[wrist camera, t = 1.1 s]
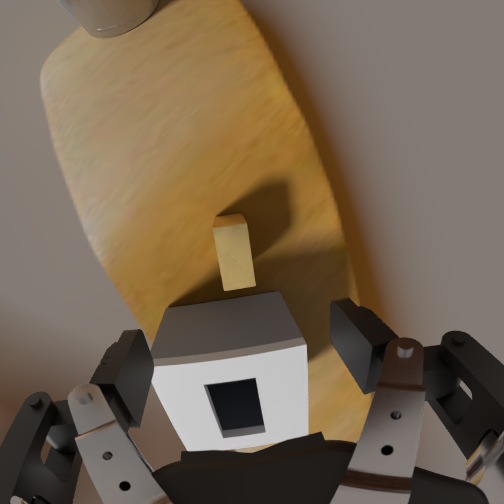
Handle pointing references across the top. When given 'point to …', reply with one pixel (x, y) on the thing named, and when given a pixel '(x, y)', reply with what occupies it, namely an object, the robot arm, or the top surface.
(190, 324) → the coin box
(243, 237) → the tan rectangular block
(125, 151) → the top surface
